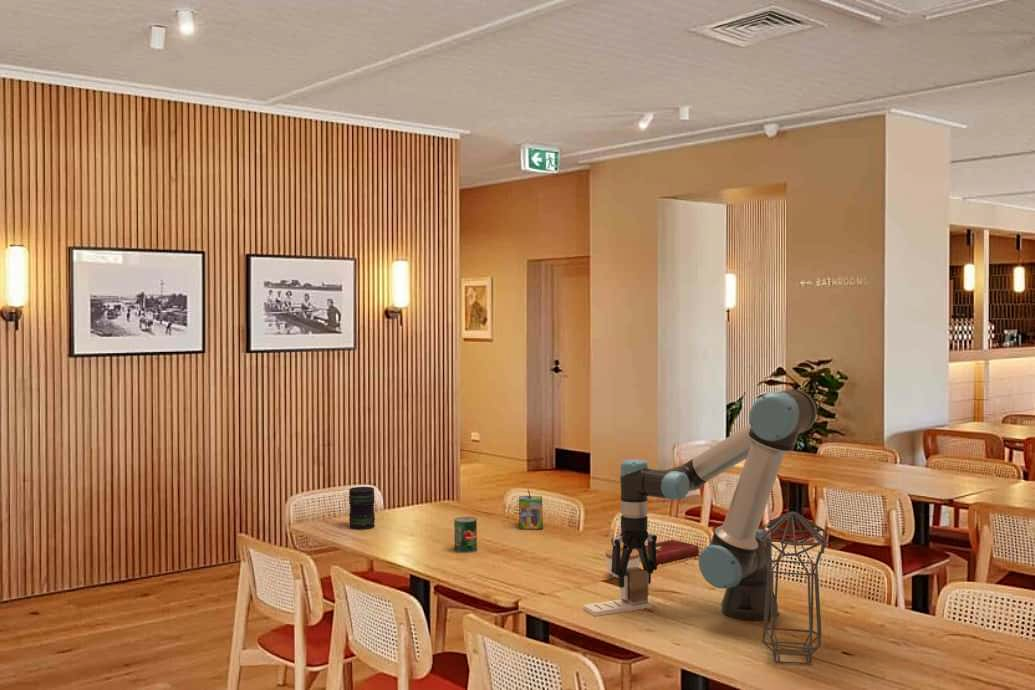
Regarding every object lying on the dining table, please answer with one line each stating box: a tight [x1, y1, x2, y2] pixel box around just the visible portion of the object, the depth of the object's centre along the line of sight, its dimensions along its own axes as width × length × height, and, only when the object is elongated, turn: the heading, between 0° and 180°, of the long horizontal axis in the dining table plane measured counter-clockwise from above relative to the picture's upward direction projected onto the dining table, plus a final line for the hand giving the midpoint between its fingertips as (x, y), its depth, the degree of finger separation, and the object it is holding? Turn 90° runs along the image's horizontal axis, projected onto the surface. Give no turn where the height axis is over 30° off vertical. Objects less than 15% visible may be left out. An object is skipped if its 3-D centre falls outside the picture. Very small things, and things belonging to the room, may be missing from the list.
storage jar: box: [348, 486, 376, 531], centre depth 386 cm, size 10×10×15 cm
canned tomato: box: [453, 516, 478, 554], centre depth 346 cm, size 8×8×11 cm
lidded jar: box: [605, 546, 641, 579], centre depth 310 cm, size 11×11×9 cm
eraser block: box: [621, 566, 649, 606], centre depth 279 cm, size 6×5×9 cm
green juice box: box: [518, 488, 544, 531], centre depth 383 cm, size 9×9×15 cm
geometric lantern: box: [759, 511, 829, 665], centre depth 235 cm, size 16×16×35 cm
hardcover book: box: [634, 538, 700, 566], centre depth 334 cm, size 12×21×4 cm, turn 129°
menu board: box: [582, 599, 653, 617], centre depth 277 cm, size 7×18×1 cm, turn 114°
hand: (634, 596), depth 279 cm, fingers open, 6 cm apart
